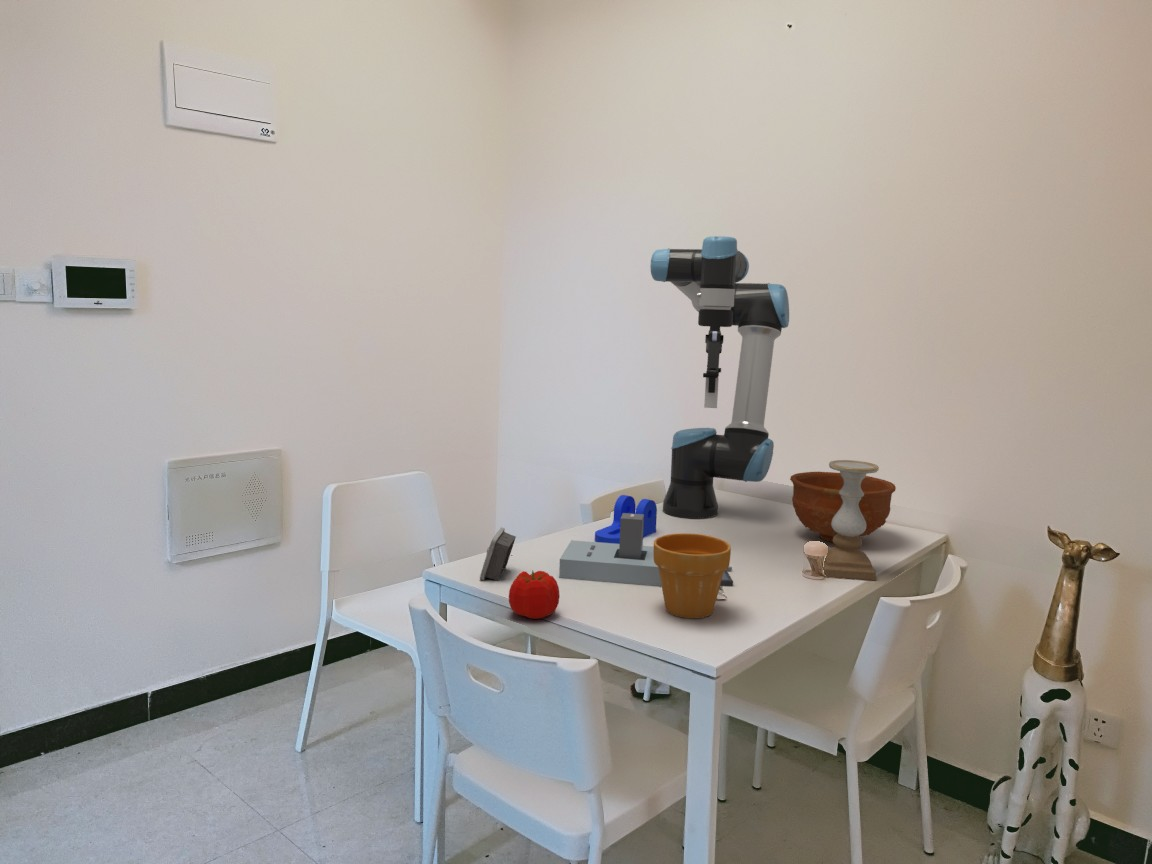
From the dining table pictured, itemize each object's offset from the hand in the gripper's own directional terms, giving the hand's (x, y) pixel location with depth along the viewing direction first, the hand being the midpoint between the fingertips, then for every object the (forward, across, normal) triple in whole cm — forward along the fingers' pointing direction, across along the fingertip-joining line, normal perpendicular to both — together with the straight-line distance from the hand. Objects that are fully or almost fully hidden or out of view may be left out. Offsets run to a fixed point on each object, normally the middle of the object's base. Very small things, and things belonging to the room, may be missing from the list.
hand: (710, 404), depth 186 cm
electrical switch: (+35, +26, -42) cm, 61 cm away
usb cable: (+35, +10, -1) cm, 36 cm away
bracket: (+35, -9, -20) cm, 41 cm away
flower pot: (+35, +37, -2) cm, 51 cm away
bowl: (+35, -21, +33) cm, 52 cm away
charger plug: (+34, +18, -15) cm, 42 cm away
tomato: (+35, +46, -30) cm, 65 cm away
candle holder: (+35, +5, +31) cm, 47 cm away
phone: (+35, +19, -1) cm, 40 cm away
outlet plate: (+35, +18, -18) cm, 43 cm away
